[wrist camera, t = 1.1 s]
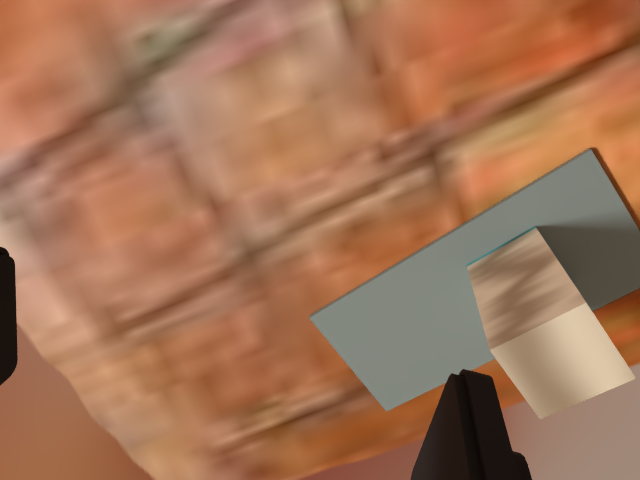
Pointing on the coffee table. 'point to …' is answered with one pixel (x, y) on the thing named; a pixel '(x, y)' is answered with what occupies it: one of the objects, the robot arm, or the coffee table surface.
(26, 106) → the coffee table surface
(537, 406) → the maple block
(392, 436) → the coffee table surface
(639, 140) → the coffee table surface
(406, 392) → the rubber mat
